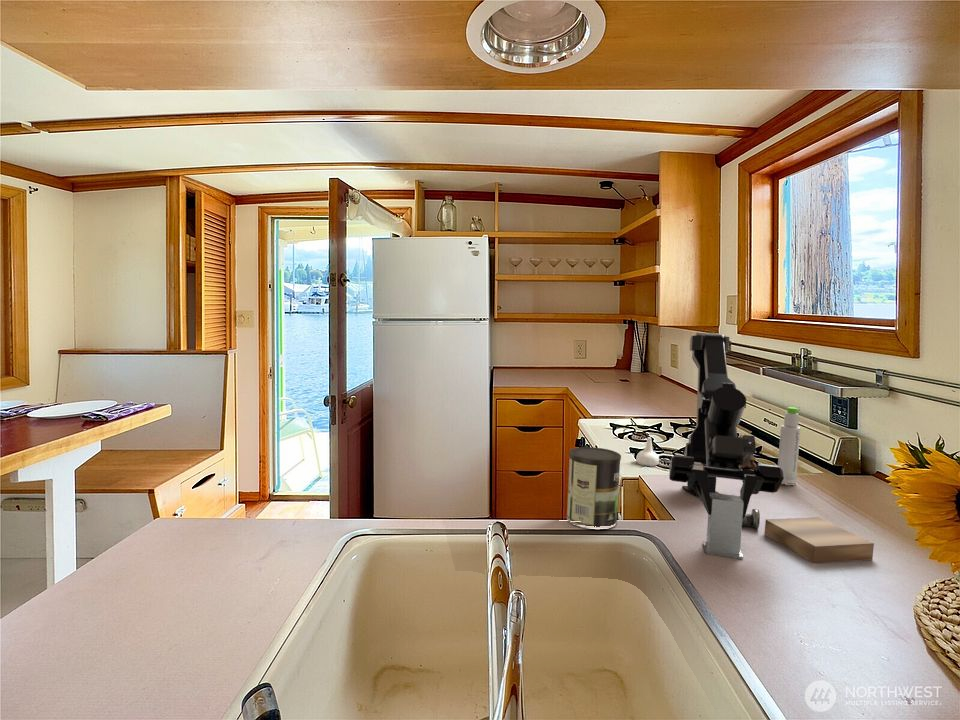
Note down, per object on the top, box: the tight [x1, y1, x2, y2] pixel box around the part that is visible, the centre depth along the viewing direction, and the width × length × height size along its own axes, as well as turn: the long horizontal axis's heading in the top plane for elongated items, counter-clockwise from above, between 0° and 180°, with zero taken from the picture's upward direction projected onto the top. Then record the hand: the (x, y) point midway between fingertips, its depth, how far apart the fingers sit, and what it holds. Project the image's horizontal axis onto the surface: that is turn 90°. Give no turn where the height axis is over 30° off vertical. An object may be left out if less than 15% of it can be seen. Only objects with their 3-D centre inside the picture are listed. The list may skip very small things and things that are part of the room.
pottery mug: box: [740, 454, 757, 471], centre depth 146 cm, size 12×10×8 cm
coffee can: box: [566, 446, 622, 527], centre depth 105 cm, size 10×10×14 cm
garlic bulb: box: [636, 436, 660, 467], centre depth 148 cm, size 6×6×8 cm
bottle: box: [777, 406, 801, 486], centre depth 134 cm, size 4×4×20 cm
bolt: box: [742, 508, 761, 529], centre depth 105 cm, size 6×4×4 cm, turn 70°
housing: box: [702, 492, 744, 560], centre depth 92 cm, size 4×6×10 cm
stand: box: [763, 516, 875, 564], centre depth 96 cm, size 12×12×3 cm
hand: (726, 515), depth 91 cm, fingers closed on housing, 5 cm apart
